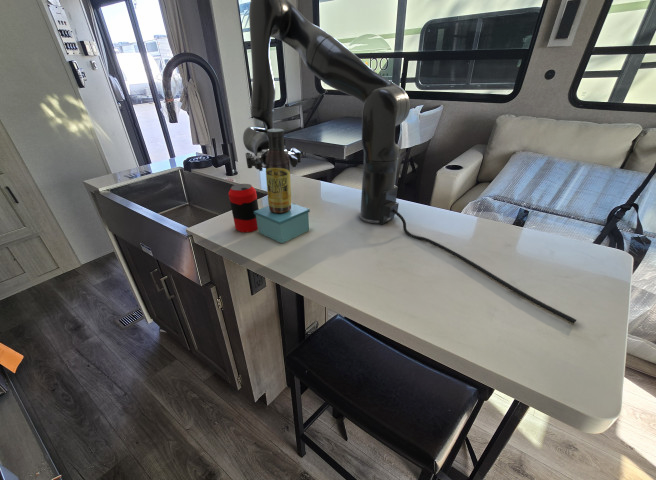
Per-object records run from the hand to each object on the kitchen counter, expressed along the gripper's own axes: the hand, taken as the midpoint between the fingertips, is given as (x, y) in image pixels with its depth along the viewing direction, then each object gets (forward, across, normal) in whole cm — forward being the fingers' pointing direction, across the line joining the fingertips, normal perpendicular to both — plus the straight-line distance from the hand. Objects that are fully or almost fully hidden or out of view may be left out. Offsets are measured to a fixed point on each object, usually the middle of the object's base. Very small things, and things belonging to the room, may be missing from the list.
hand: (277, 164), depth 77 cm
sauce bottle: (-2, 0, +12) cm, 13 cm away
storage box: (-1, 0, +19) cm, 19 cm away
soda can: (-8, -10, +19) cm, 23 cm away
